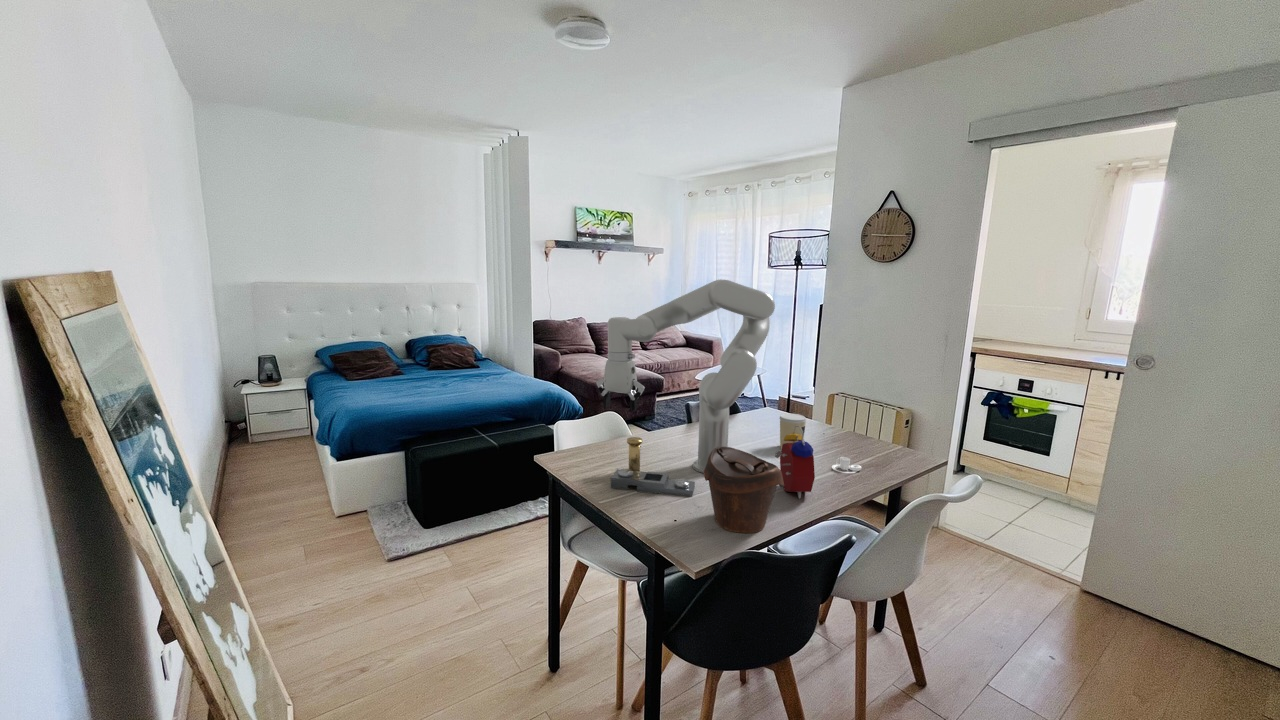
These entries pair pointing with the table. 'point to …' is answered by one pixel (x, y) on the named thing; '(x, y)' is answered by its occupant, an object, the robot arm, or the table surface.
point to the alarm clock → (797, 464)
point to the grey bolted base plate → (651, 482)
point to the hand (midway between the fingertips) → (619, 409)
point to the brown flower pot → (741, 488)
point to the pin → (634, 453)
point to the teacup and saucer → (846, 465)
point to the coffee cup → (791, 426)
